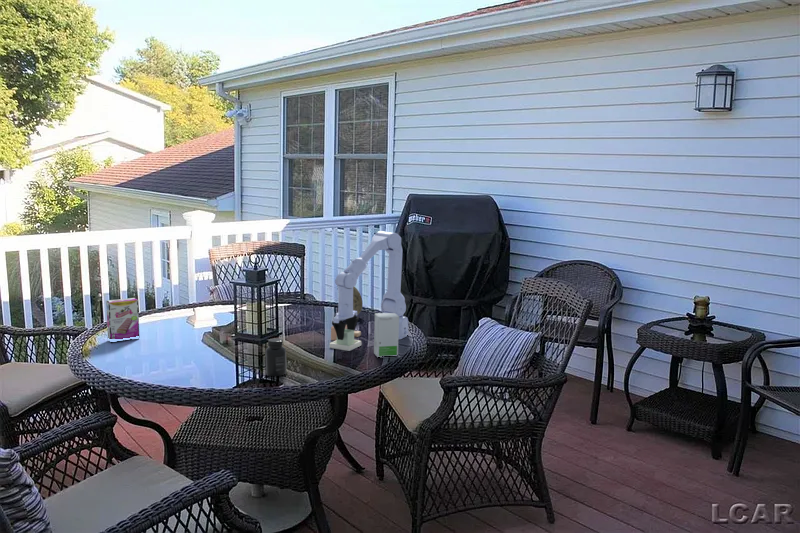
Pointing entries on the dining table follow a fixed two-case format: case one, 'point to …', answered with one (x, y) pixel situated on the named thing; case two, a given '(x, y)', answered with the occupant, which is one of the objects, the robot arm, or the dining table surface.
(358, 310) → the decorative egg
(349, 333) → the pot green
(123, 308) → the candy bar box
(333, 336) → the pot terracotta
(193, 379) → the dining table surface
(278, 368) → the supplement bottle
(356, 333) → the cedar offcut
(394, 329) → the skincare box
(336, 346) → the tray
